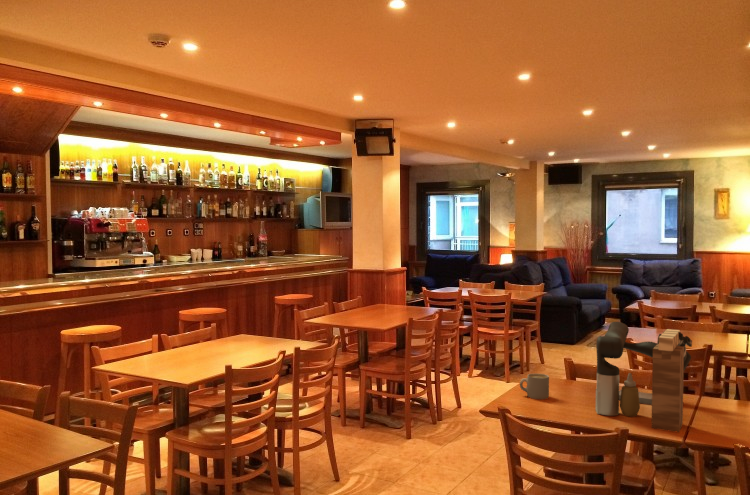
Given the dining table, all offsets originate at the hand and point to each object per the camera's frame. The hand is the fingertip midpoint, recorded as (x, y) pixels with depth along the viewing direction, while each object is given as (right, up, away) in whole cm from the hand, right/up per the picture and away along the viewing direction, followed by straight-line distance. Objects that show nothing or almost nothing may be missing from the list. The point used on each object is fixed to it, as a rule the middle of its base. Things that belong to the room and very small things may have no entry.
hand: (672, 333), depth 264 cm
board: (+2, -35, +29) cm, 46 cm away
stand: (-6, -36, -8) cm, 38 cm away
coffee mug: (-48, -35, +38) cm, 71 cm away
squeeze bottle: (-15, -36, +7) cm, 40 cm away
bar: (-4, -4, -6) cm, 9 cm away
